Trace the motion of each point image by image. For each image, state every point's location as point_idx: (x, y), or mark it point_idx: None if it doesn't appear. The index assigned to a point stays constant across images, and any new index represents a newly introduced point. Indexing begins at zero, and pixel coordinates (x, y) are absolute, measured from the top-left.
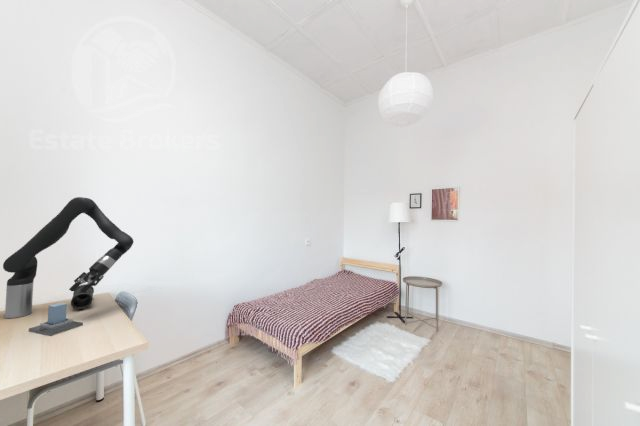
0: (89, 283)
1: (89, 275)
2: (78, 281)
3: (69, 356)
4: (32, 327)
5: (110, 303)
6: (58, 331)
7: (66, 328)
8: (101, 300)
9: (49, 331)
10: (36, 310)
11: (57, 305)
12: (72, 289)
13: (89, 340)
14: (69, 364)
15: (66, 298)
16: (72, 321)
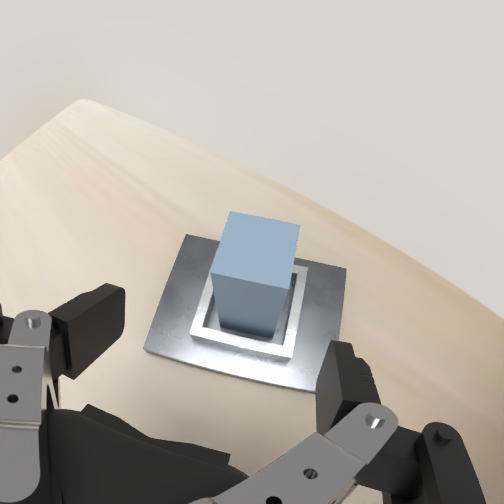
0: (18, 317)
1: (18, 443)
2: (335, 429)
3: (38, 160)
4: (345, 279)
5: None
6: (177, 258)
7: (167, 284)
8: None
9: (211, 248)
10: None
11: (241, 234)
12: (324, 369)
13: (31, 223)
14: (26, 144)
15: None
16: (192, 336)
